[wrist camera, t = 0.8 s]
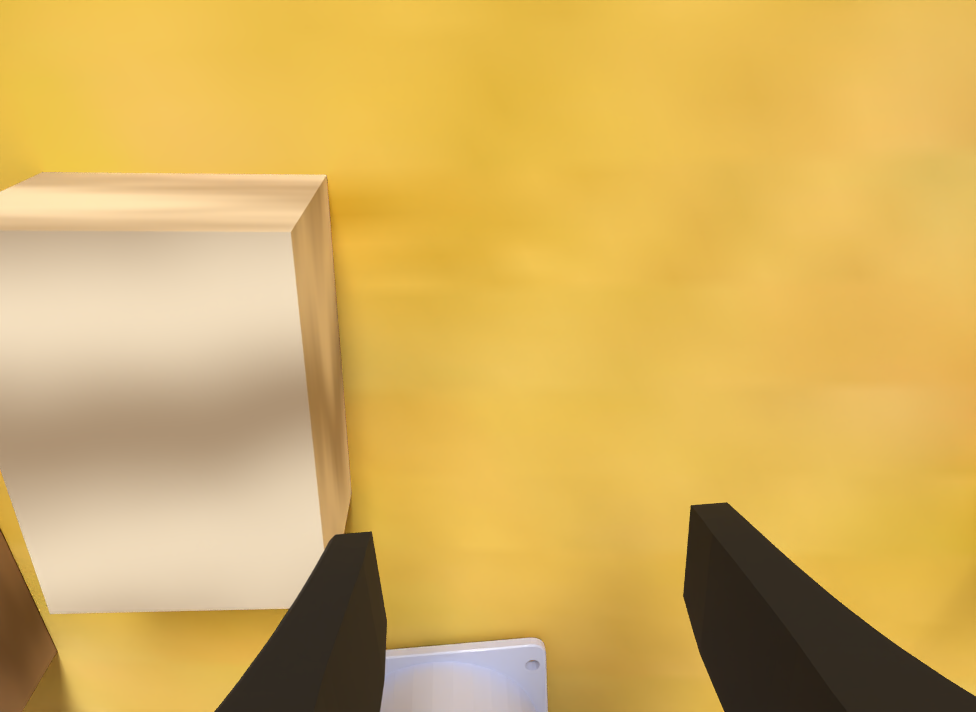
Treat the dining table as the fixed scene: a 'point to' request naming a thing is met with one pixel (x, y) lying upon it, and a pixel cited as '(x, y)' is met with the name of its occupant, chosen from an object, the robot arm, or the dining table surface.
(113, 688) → the dining table surface
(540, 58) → the dining table surface
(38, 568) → the maple block
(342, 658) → the robot arm
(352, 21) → the dining table surface
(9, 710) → the walnut board
